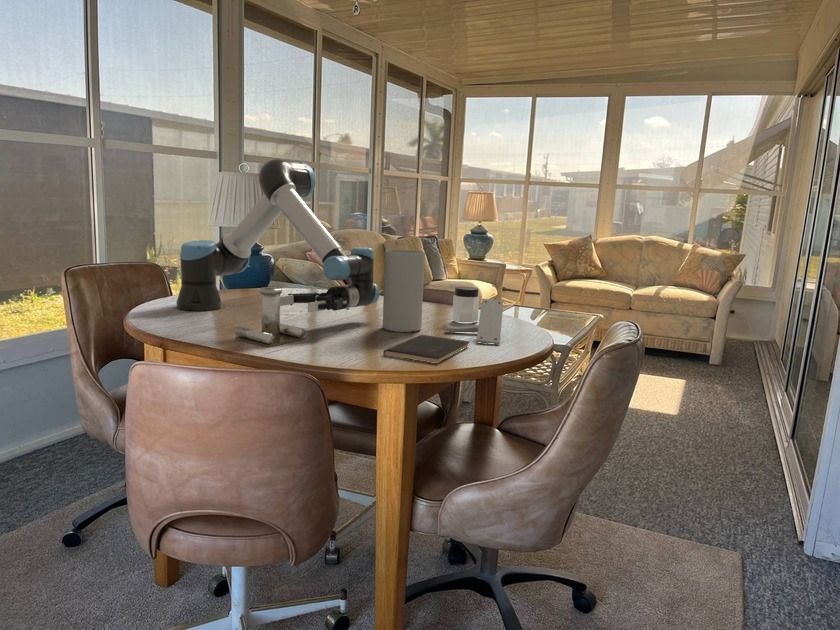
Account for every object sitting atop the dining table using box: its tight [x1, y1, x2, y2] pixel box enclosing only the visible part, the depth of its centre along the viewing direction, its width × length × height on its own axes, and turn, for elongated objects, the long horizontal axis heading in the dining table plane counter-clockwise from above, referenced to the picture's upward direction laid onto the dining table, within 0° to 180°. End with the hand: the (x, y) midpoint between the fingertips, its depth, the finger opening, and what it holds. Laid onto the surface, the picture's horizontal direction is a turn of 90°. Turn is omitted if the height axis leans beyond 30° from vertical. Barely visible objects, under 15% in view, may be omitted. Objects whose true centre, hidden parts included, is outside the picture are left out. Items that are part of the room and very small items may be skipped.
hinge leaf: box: [234, 323, 307, 348], centre depth 181 cm, size 14×14×3 cm
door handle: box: [444, 298, 504, 345], centre depth 197 cm, size 18×8×20 cm
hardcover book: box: [382, 334, 471, 362], centre depth 175 cm, size 16×23×2 cm
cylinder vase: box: [382, 249, 426, 333], centre depth 202 cm, size 12×12×25 cm
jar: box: [451, 286, 480, 322], centre depth 220 cm, size 9×8×12 cm
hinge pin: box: [259, 286, 283, 339], centre depth 180 cm, size 6×6×14 cm
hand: (292, 304), depth 186 cm, fingers open, 13 cm apart
